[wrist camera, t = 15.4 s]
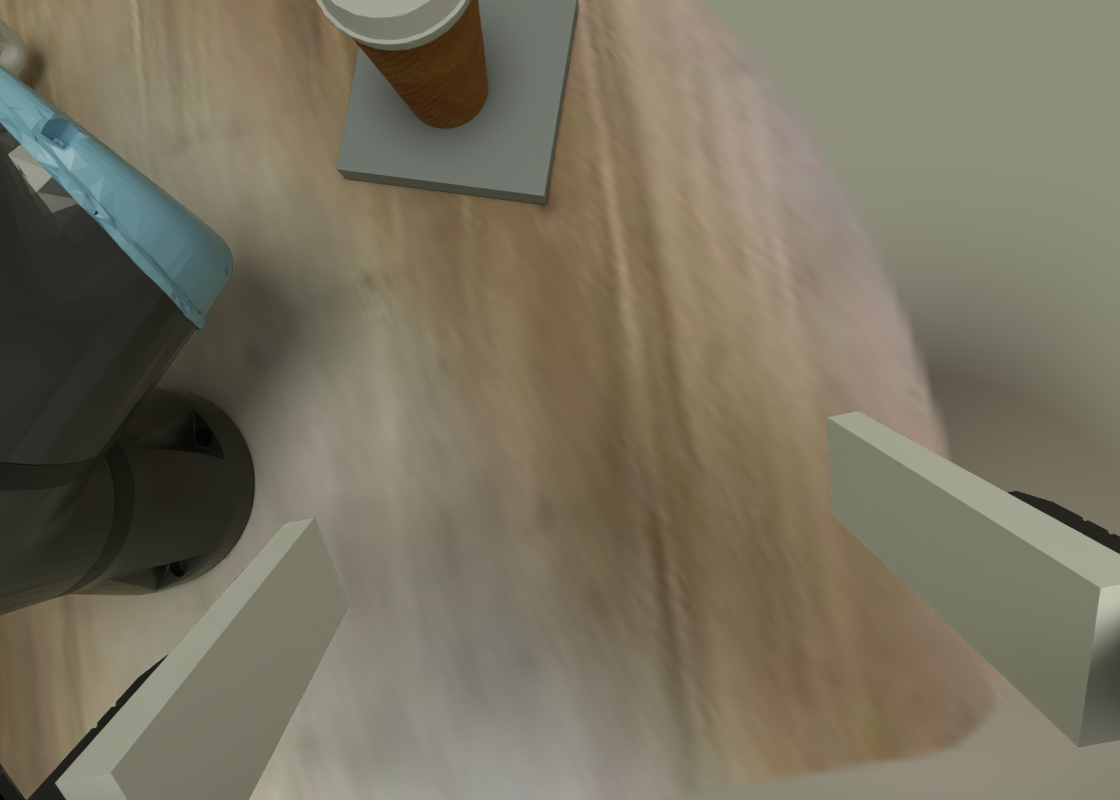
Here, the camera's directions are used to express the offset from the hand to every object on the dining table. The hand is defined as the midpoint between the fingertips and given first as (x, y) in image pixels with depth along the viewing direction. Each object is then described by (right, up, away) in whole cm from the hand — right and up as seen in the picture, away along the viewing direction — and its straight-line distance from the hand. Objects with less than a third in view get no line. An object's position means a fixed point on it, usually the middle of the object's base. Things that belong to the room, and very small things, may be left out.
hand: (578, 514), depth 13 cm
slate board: (-8, +27, +28) cm, 40 cm away
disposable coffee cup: (-9, +26, +26) cm, 38 cm away
